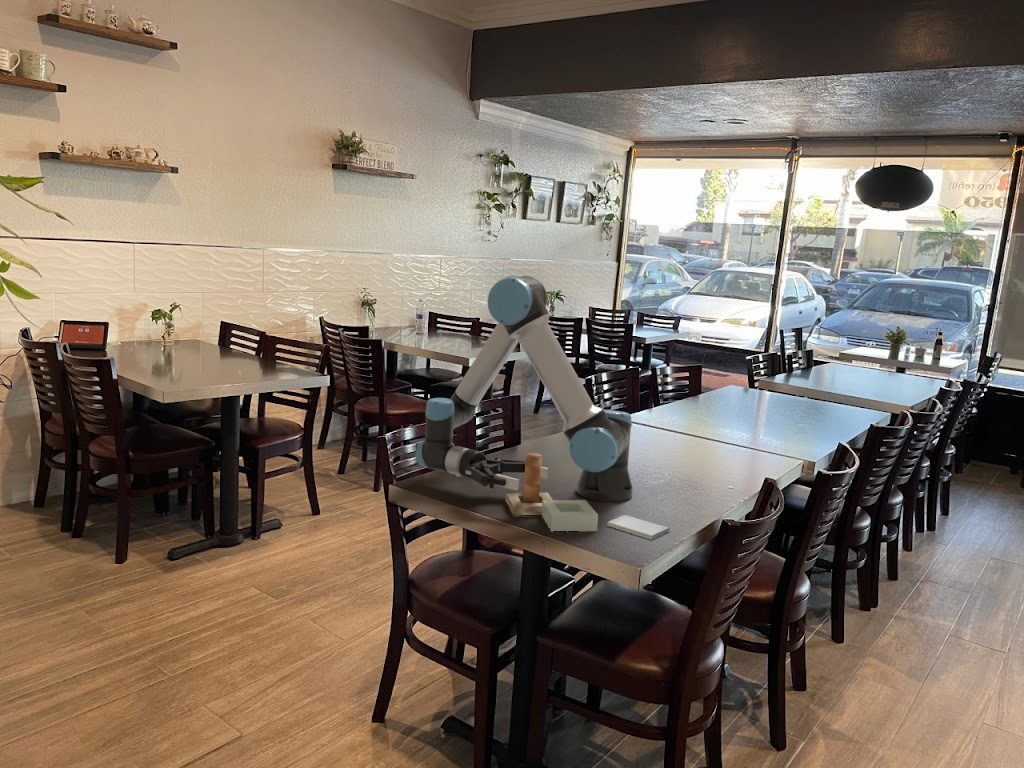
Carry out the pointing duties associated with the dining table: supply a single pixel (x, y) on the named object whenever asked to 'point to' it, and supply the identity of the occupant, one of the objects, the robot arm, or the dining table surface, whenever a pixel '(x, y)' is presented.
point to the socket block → (569, 515)
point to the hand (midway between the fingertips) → (533, 479)
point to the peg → (532, 478)
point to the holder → (525, 504)
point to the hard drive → (638, 527)
